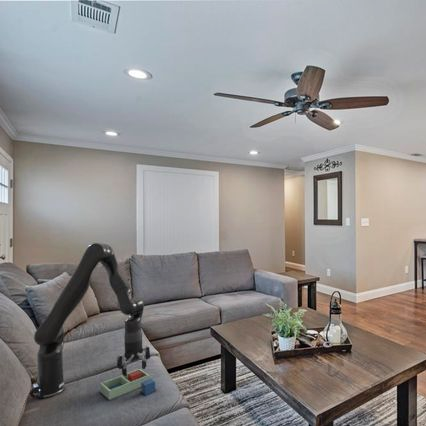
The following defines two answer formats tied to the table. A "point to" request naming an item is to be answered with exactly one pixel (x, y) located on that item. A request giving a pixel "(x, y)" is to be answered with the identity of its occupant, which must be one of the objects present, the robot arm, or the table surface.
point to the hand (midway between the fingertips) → (134, 372)
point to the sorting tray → (122, 385)
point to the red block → (134, 376)
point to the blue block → (148, 386)
